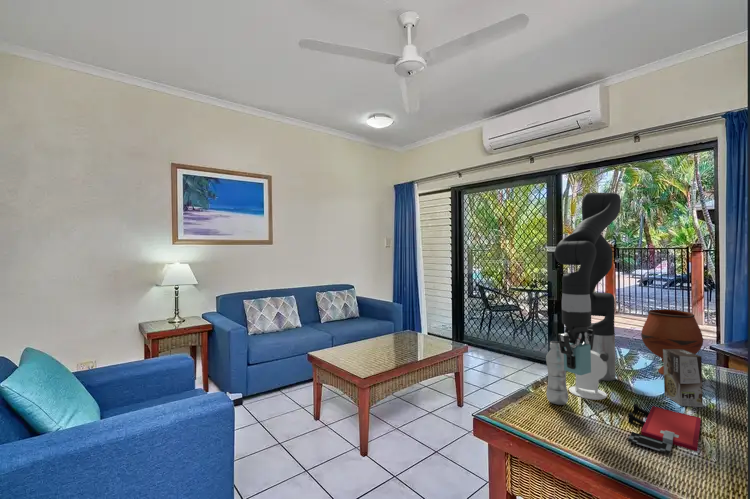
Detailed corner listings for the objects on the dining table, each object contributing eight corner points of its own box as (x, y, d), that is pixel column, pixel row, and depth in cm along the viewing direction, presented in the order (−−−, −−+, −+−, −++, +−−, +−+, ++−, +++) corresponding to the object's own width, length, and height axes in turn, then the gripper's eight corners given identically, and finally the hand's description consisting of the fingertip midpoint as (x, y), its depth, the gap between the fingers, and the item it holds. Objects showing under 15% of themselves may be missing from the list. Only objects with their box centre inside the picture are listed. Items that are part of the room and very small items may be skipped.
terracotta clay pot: (650, 379, 136) (649, 314, 136) (636, 364, 154) (634, 307, 154) (714, 385, 129) (713, 317, 129) (691, 369, 146) (690, 309, 147)
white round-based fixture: (609, 391, 125) (609, 349, 125) (608, 402, 116) (607, 357, 116) (571, 384, 132) (570, 344, 132) (566, 394, 123) (566, 351, 123)
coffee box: (704, 407, 111) (702, 356, 111) (680, 406, 113) (679, 355, 113) (684, 396, 120) (683, 348, 120) (663, 394, 121) (662, 348, 122)
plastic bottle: (567, 400, 118) (566, 340, 118) (569, 409, 112) (568, 345, 112) (546, 397, 120) (545, 339, 121) (546, 405, 114) (545, 343, 115)
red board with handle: (618, 441, 93) (695, 466, 82) (618, 430, 93) (695, 454, 82) (637, 406, 114) (700, 422, 104) (637, 397, 114) (700, 413, 104)
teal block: (564, 370, 105) (563, 343, 105) (574, 367, 107) (574, 341, 107) (580, 375, 100) (579, 347, 100) (591, 372, 103) (590, 344, 103)
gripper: (578, 305, 110) (579, 359, 110) (548, 309, 104) (549, 367, 104) (603, 308, 104) (604, 366, 104) (573, 313, 97) (574, 374, 97)
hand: (577, 366), depth 104 cm, fingers closed on teal block, 5 cm apart
